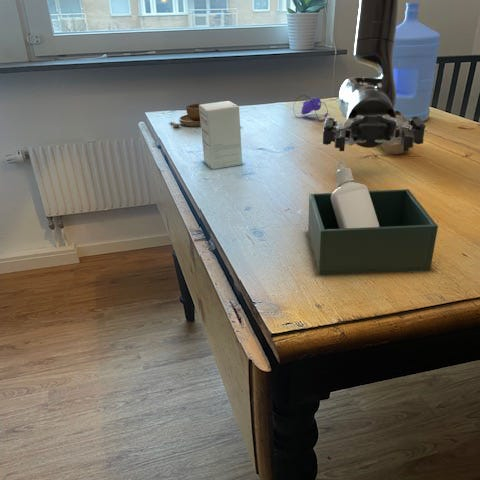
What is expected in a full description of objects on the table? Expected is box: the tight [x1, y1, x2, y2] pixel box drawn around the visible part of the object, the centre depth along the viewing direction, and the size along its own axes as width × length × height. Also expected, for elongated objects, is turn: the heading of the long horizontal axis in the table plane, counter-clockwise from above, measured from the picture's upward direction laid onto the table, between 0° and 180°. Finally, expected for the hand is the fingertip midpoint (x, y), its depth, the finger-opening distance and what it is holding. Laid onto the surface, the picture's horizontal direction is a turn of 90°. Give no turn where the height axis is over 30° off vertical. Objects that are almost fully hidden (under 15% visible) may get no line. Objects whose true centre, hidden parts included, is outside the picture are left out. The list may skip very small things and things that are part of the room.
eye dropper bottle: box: [331, 161, 380, 229], centre depth 75 cm, size 4×6×12 cm
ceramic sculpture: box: [380, 111, 410, 156], centre depth 116 cm, size 11×9×15 cm
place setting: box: [170, 103, 202, 128], centre depth 147 cm, size 18×20×6 cm
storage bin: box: [307, 188, 439, 276], centre depth 73 cm, size 15×14×7 cm
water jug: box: [393, 1, 441, 123], centre depth 134 cm, size 16×16×28 cm
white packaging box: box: [199, 100, 243, 170], centre depth 112 cm, size 7×7×13 cm
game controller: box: [292, 95, 329, 122], centre depth 147 cm, size 10×8×10 cm
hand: (374, 143), depth 68 cm, fingers open, 8 cm apart
